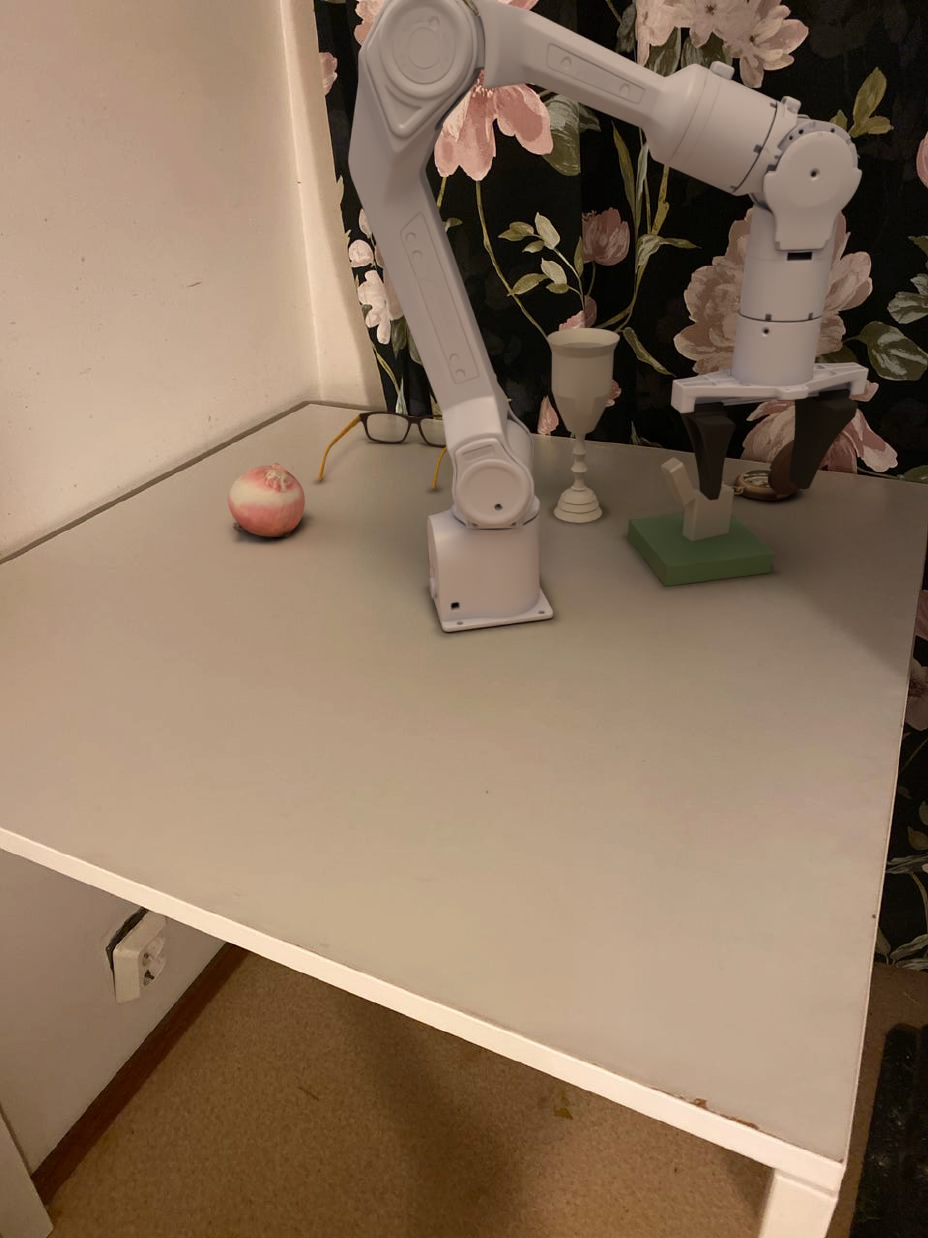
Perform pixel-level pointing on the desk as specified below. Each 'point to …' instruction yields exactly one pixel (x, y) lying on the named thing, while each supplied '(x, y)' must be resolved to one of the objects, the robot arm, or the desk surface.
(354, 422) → the eyeglasses
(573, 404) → the chalice
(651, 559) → the block
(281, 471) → the onion
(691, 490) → the lighter
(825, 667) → the desk surface
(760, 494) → the compass
